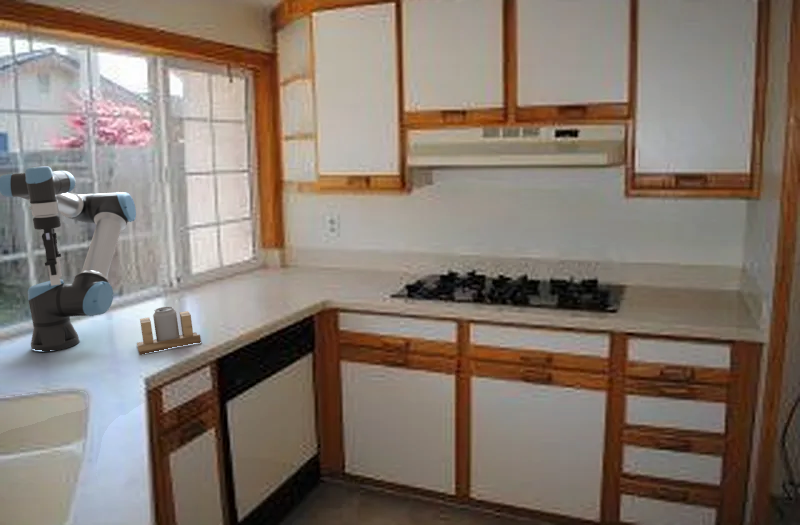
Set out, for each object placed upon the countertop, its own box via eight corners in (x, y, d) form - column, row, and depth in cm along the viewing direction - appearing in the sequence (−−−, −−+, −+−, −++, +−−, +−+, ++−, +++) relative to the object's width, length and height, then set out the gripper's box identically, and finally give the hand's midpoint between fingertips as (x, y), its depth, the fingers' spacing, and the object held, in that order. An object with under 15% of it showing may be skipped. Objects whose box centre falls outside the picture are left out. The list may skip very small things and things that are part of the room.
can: (171, 337, 228) (166, 304, 226) (184, 340, 224) (180, 306, 222) (152, 343, 223) (147, 310, 220) (165, 346, 218) (160, 312, 216)
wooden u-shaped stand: (137, 345, 225) (133, 317, 223) (196, 334, 233) (192, 308, 231) (139, 355, 214) (135, 326, 212) (201, 343, 222) (198, 315, 220)
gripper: (35, 213, 214) (46, 275, 218) (29, 221, 192) (41, 290, 196) (60, 211, 217) (70, 272, 222) (57, 218, 195) (68, 286, 199)
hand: (56, 281), depth 209 cm, fingers open, 13 cm apart
